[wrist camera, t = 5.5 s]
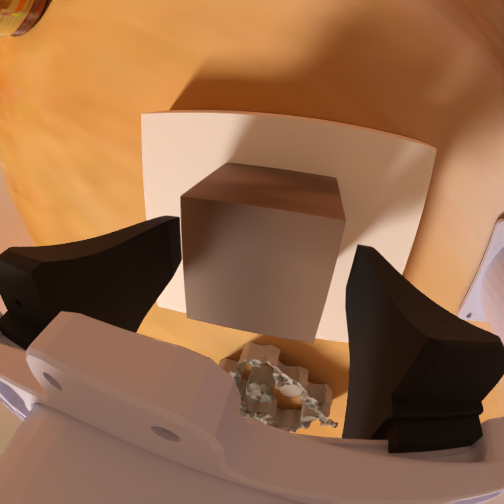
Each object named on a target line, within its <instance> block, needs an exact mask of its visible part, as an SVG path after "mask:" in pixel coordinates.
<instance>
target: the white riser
mask: <svg viewBox="0 0 504 504" xmlns="http://www.w3.org/2000/svg"><path fill="white" fill-rule="evenodd" d="M141 125H142V163H143V182H144V197H145V209H146V220H150V219H153V218H157V217H160V216H166V215H168V216H176V217H180V233H181V209H180V196H181V195H183V194H184V193H185V192H186V191H188V190H189V189H190V188H192V187H193V186H195V185H196V184H197V183H199V182H200V181H201V180H203V179H204V178H205V177H207V176H208V175H210V174H211V173H212V172H214V171H215V170H217V169H218V168H219V167H221V166H222V165H224V164H225V163H237V164H246V165H254V166H263V167H270V168H278V169H285V170H292V171H299V172H305V173H311V174H317V175H323V176H329V177H335V178H337V182H338V187H339V191H340V195H341V200H342V204H343V209H344V214H345V219H346V223H345V228H344V232H343V236H342V241H341V245H340V249H339V253H338V257H337V261H336V265H335V269H334V273H333V277H332V281H331V284H330V288H329V292H328V295H327V299H326V303H325V306H324V310H323V313H322V316H321V320H320V323H319V327H318V330H317V333H316V336H315V338H318V339H325V340H332V341H339V342H347V343H349V340H348V330H347V320H346V311H345V296H346V285H347V281H348V278H349V274H350V271H351V267H352V263H353V260H354V256H355V252H356V248H357V244H360V245H365V246H371V247H373V248H375V249H376V250H377V251H378V252H379V253H380V254H381V255H382V256H383V257H384V258H385V259H386V260H387V261H388V262H389V263H390V264H391V265H392V266H393V267H394V268H395V269H396V270H397V271H398V272H399V273H400V274H401V275H402V274H403V271H404V268H405V266H406V263H407V260H408V257H409V254H410V251H411V248H412V245H413V242H414V239H415V236H416V232H417V229H418V226H419V222H420V219H421V215H422V212H423V208H424V204H425V200H426V197H427V193H428V188H429V184H430V180H431V176H432V171H433V166H434V162H435V157H436V151H437V148H435V147H432V146H430V145H428V144H426V143H424V142H421V141H419V140H416V139H413V138H409V137H405V136H401V135H397V134H393V133H389V132H385V131H380V130H376V129H371V128H367V127H362V126H357V125H351V124H346V123H340V122H334V121H328V120H322V119H315V118H308V117H300V116H292V115H283V114H273V113H261V112H248V111H229V110H165V111H158V112H151V113H144V114H141ZM181 251H182V237H181ZM157 304H158V306H159V307H163V308H167V309H171V310H175V311H180V312H184V313H186V301H185V288H184V274H183V257H182V261H181V263H180V265H179V267H178V269H177V271H176V273H175V274H174V276H173V278H172V279H171V281H170V282H169V284H168V285H167V286H166V288H165V289H164V291H163V292H162V293H161V295H160V296H159V297H158V299H157Z"/></svg>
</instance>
